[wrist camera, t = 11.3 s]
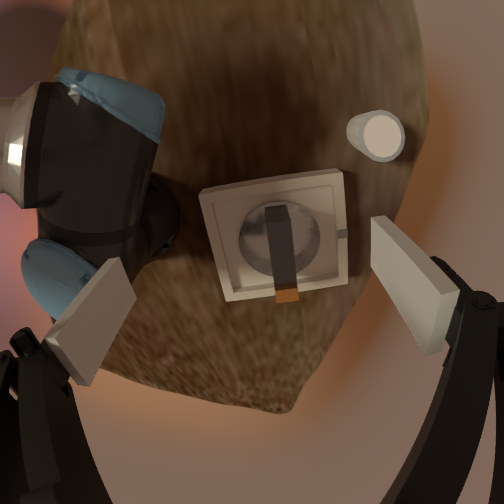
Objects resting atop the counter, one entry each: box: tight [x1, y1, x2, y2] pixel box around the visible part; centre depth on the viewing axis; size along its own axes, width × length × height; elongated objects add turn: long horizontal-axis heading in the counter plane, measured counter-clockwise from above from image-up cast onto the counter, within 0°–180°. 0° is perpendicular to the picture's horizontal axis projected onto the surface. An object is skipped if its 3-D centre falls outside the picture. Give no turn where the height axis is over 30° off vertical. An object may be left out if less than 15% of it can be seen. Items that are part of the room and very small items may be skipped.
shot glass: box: [346, 110, 405, 162], centre depth 33 cm, size 7×7×7 cm
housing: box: [198, 168, 348, 302], centre depth 42 cm, size 20×18×4 cm
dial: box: [239, 200, 320, 303], centre depth 38 cm, size 12×12×8 cm
